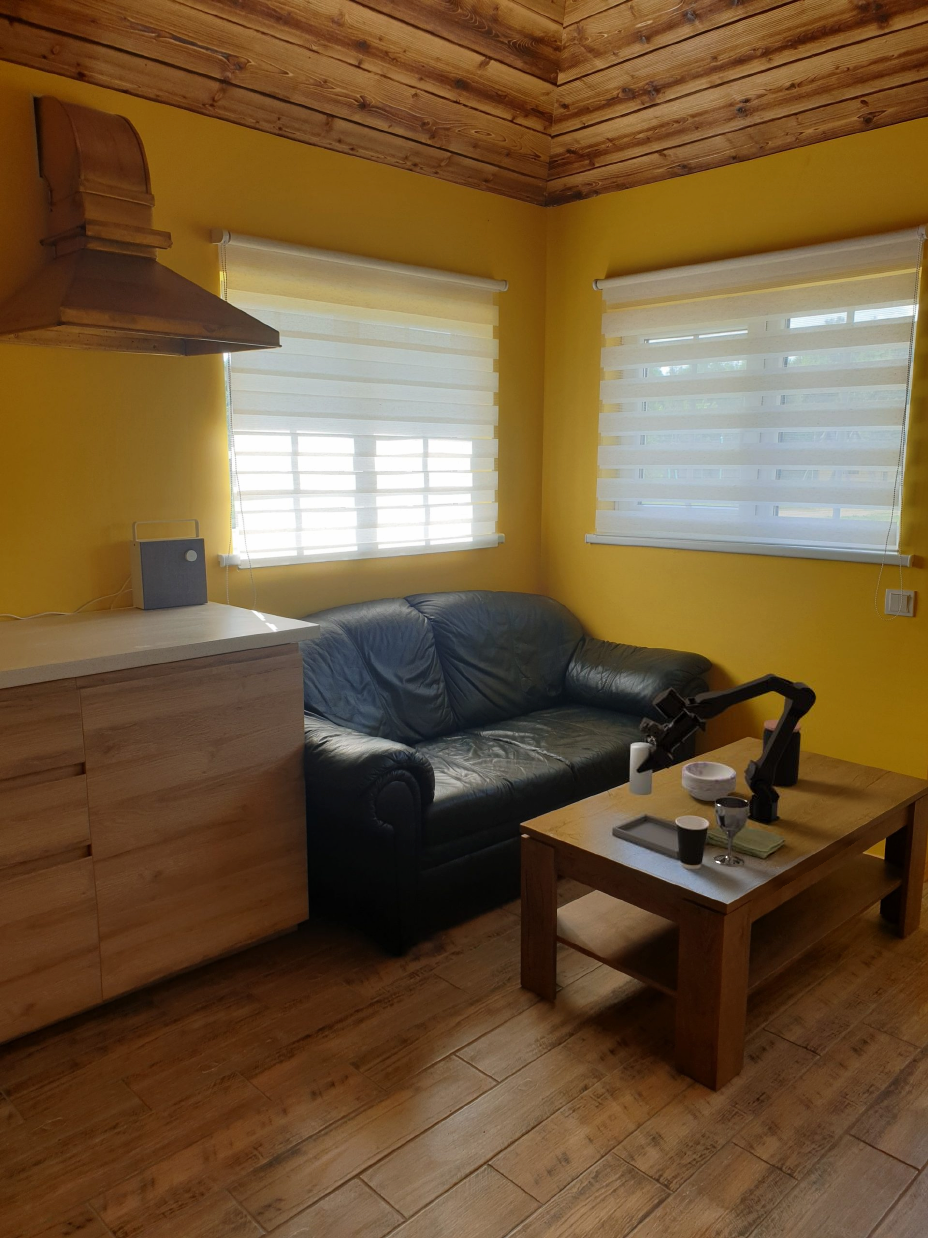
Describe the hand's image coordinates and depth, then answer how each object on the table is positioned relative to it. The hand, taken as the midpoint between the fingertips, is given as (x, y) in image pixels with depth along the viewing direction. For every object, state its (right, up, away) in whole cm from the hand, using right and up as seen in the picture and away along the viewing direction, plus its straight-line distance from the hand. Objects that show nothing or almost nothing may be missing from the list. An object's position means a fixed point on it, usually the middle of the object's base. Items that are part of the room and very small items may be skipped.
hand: (636, 768), depth 252 cm
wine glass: (+18, -19, -26) cm, 37 cm away
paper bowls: (+24, -11, +17) cm, 31 cm away
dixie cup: (+8, -19, -29) cm, 35 cm away
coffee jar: (+49, -9, +28) cm, 57 cm away
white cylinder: (+1, -7, +1) cm, 7 cm away
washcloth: (+24, -17, -16) cm, 34 cm away
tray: (+4, -16, -14) cm, 22 cm away
